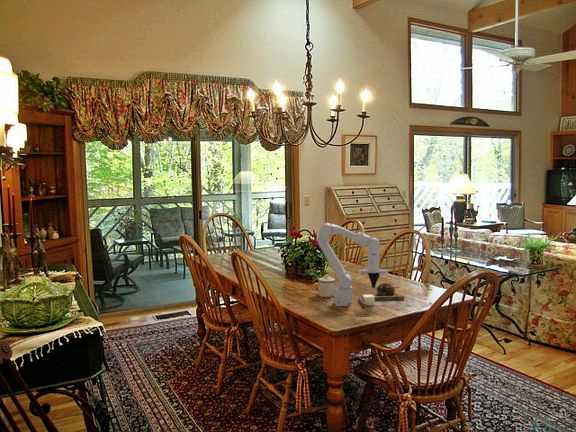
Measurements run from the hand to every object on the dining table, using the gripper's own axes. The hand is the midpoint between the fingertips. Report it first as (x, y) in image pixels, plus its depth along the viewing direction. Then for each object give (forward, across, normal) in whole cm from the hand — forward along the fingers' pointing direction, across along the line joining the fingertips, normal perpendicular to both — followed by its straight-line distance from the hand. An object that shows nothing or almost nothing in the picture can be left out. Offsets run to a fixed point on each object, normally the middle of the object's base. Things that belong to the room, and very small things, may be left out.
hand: (373, 287), depth 249 cm
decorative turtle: (+10, +10, +14) cm, 20 cm away
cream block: (+8, -3, -2) cm, 9 cm away
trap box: (+9, +6, -2) cm, 11 cm away
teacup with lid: (+10, -23, +21) cm, 33 cm away
